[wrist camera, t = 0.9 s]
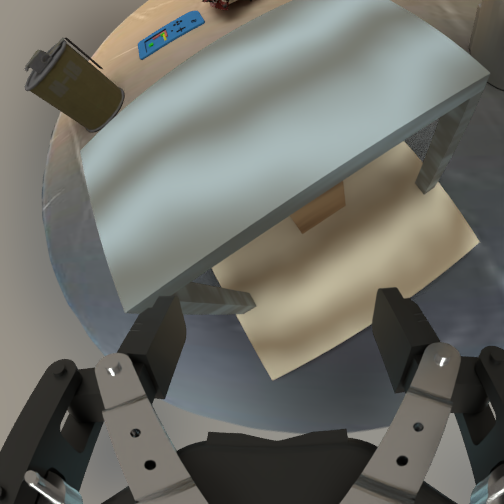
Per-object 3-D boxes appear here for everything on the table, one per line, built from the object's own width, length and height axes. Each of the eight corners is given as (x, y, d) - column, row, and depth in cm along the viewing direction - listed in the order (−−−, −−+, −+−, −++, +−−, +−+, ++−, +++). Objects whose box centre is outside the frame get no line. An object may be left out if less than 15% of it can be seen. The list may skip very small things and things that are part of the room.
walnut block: (275, 194, 30) (235, 138, 20) (316, 167, 29) (294, 100, 19) (302, 234, 28) (272, 190, 18) (345, 205, 27) (339, 147, 17)
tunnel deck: (174, 174, 38) (66, 97, 20) (322, 76, 34) (286, -47, 16) (279, 374, 29) (178, 450, 11) (469, 248, 25) (579, 172, 7)
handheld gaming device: (203, 20, 44) (139, 59, 47) (206, 23, 45) (142, 62, 48) (195, 7, 46) (136, 42, 50) (197, 10, 47) (139, 45, 51)
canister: (98, 139, 46) (17, 87, 28) (80, 124, 50) (11, 79, 32) (134, 92, 46) (63, 29, 27) (112, 82, 50) (49, 30, 31)
